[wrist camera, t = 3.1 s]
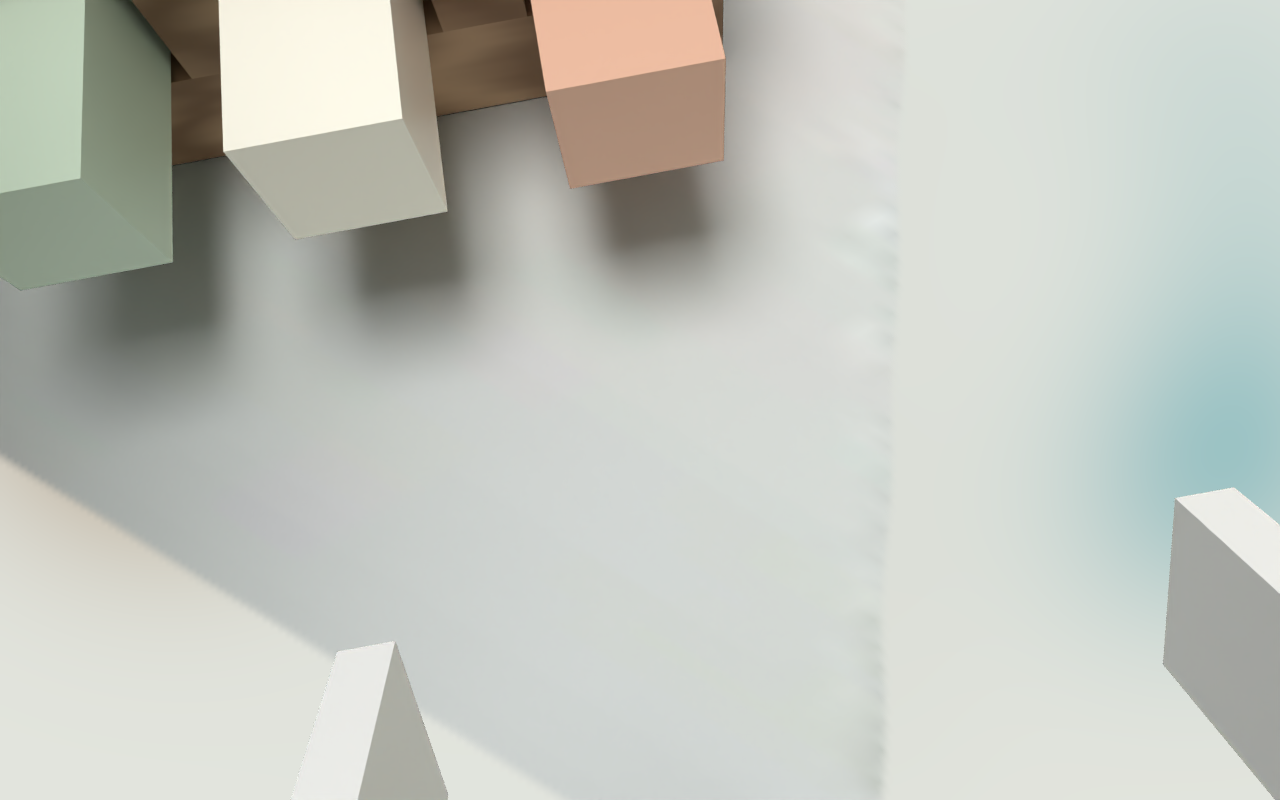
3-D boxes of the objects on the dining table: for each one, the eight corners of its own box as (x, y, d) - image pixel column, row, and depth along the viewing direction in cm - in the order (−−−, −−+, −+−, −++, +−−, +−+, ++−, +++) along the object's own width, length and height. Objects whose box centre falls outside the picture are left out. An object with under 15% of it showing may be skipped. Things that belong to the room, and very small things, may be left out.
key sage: (20, 290, 32) (-99, 211, 27) (31, 63, 35) (-74, -43, 30) (172, 262, 32) (80, 178, 27) (170, 37, 35) (86, -73, 30)
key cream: (294, 239, 32) (223, 151, 27) (282, 16, 35) (215, -98, 30) (447, 211, 32) (402, 118, 27) (421, -10, 35) (376, -127, 30)
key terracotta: (570, 188, 32) (546, 91, 27) (533, -31, 35) (505, -152, 30) (723, 160, 32) (725, 58, 27) (673, -57, 35) (667, -182, 30)
